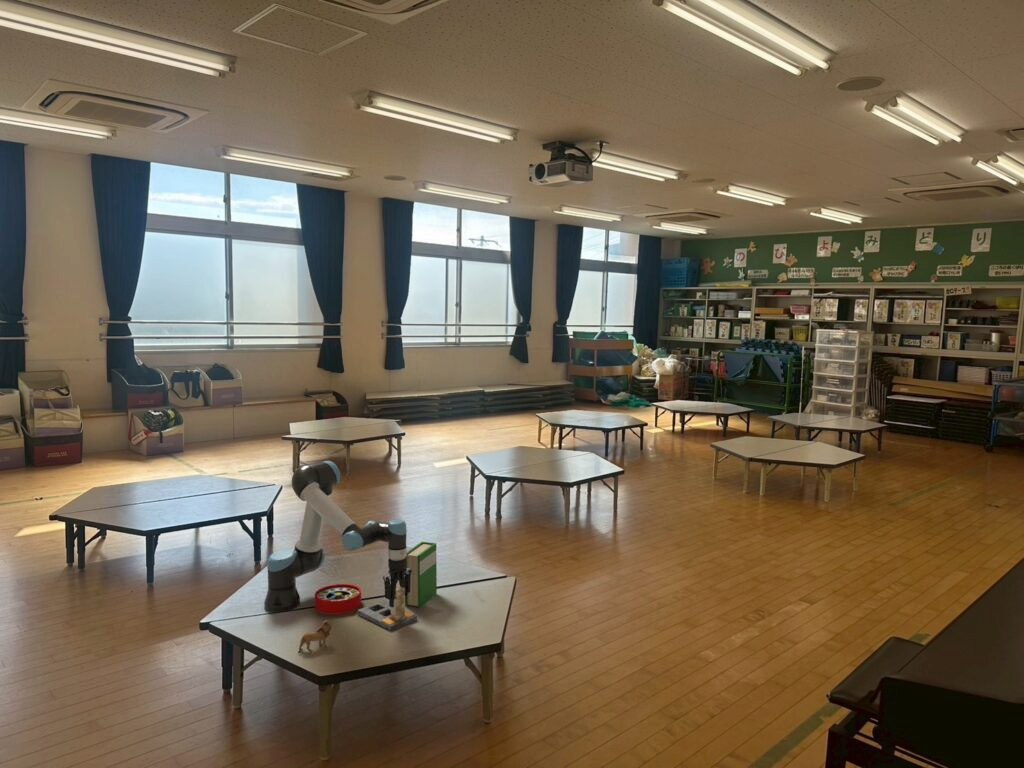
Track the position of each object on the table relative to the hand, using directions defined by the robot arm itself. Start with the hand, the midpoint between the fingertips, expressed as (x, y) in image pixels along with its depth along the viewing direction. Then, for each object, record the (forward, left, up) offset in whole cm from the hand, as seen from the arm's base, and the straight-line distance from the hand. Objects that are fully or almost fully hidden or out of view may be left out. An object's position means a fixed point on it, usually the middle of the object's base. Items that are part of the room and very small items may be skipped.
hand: (397, 612), depth 288 cm
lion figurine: (-35, +6, -5) cm, 36 cm away
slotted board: (0, +7, -5) cm, 9 cm away
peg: (0, 0, -4) cm, 4 cm away
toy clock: (-7, +34, -5) cm, 35 cm away
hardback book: (+22, +11, -5) cm, 25 cm away
